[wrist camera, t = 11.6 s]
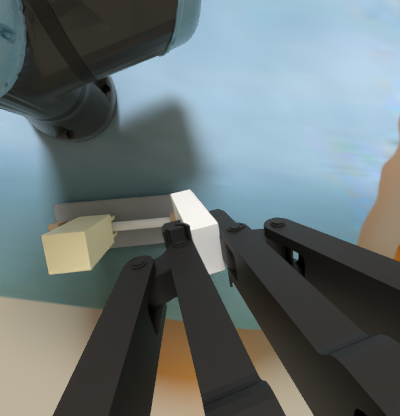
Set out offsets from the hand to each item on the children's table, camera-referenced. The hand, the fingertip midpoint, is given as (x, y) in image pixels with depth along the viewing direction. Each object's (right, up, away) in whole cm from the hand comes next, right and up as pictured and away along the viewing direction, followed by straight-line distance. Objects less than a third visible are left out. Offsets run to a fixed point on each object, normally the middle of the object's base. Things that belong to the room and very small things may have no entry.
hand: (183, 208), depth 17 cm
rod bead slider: (-14, -3, +26) cm, 30 cm away
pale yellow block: (-16, -3, +24) cm, 29 cm away
